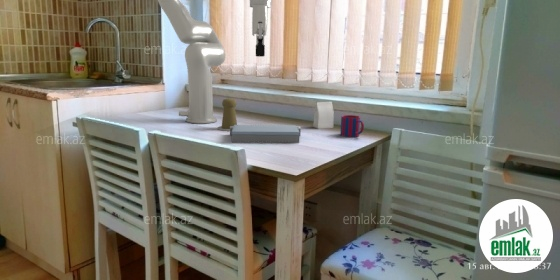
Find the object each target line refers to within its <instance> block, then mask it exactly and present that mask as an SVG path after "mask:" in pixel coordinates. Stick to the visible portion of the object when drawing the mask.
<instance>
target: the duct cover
mask: <svg viewBox="0 0 560 280" xmlns="http://www.w3.org/2000/svg"><path fill="white" fill-rule="evenodd" d="M297 127H298V126H297V125H295V124H294V125H293V124H292V125H291V124H290V125H288V124H285V125H283V124H280V125H279V124H275V125H274V124H265V125H264V124H237V125H234V127H233V129H232V135H300V136H301V133H300V132H299V130H298V128H297ZM232 135H231V136H232Z"/></svg>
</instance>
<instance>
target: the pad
mask: <svg viewBox="0 0 560 280" xmlns="http://www.w3.org/2000/svg"><path fill="white" fill-rule="evenodd" d="M216 129H217V130H218V131H222V132H230V129H223V128H222V125H219V126H218V127H217V128H216Z"/></svg>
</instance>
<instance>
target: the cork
mask: <svg viewBox="0 0 560 280" xmlns="http://www.w3.org/2000/svg"><path fill="white" fill-rule="evenodd" d="M222 107H223V111H222V113H223V114H222V118H221V119H222V120H221V126H222V128H223V129H230V126H234V125H238V119H237V113H236V107H237V100H236V99H235V98H224V99H222Z"/></svg>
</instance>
